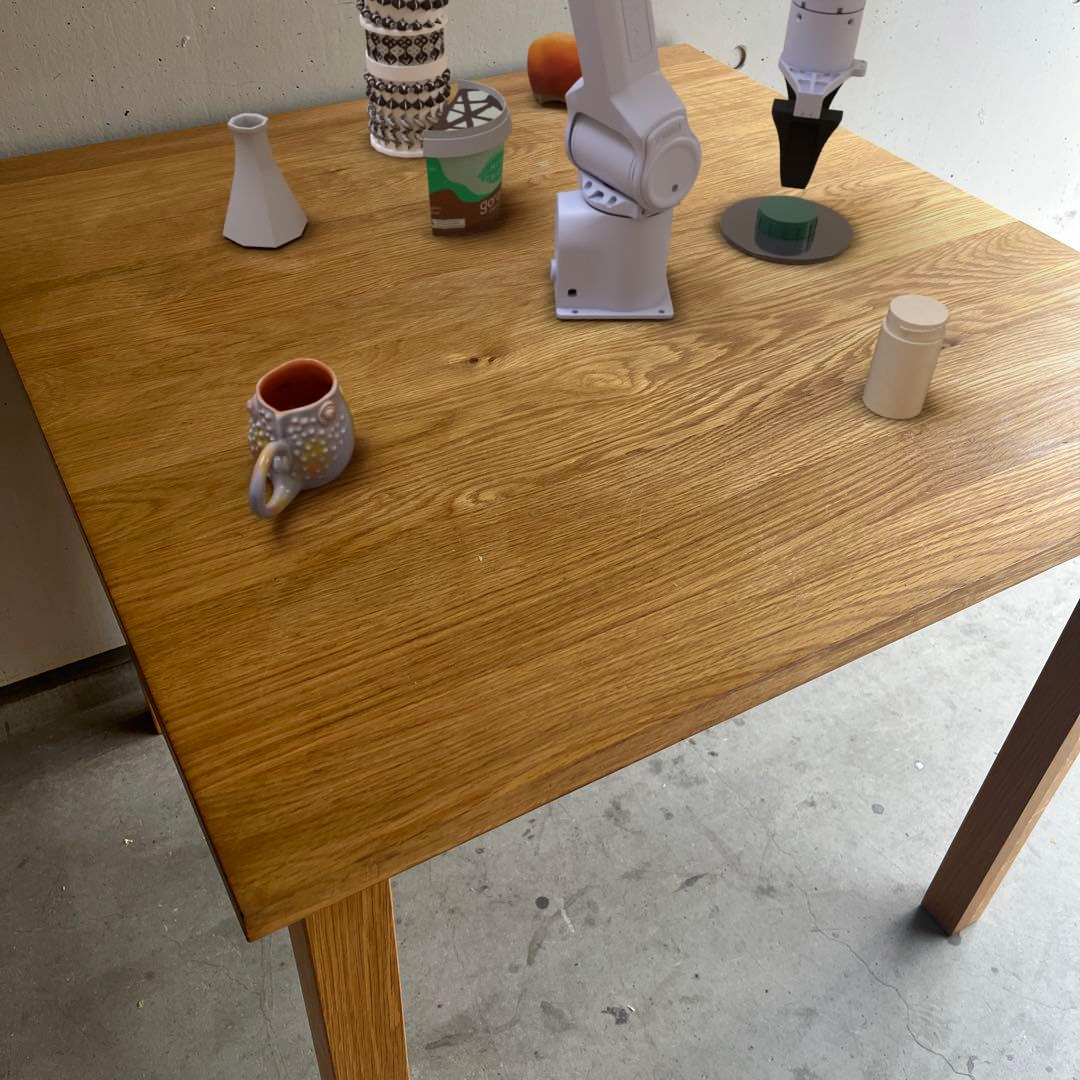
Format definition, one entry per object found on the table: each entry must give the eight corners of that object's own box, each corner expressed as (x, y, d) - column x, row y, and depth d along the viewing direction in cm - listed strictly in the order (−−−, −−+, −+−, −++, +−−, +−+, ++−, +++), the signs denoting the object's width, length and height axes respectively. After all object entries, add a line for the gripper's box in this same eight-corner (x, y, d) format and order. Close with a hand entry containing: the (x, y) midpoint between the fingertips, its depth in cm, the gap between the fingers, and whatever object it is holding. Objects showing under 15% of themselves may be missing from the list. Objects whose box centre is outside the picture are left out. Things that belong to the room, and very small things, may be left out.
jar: (883, 424, 80) (910, 331, 74) (850, 390, 83) (874, 298, 77) (934, 412, 81) (965, 320, 75) (900, 379, 84) (927, 288, 78)
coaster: (730, 264, 96) (730, 259, 96) (710, 200, 105) (711, 195, 104) (866, 264, 96) (867, 259, 96) (835, 200, 105) (836, 195, 105)
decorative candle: (428, 166, 109) (413, -122, 91) (349, 148, 111) (319, -136, 94) (472, 132, 115) (465, -145, 97) (395, 115, 117) (375, -157, 100)
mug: (280, 423, 79) (266, 345, 74) (372, 438, 78) (363, 359, 73) (206, 536, 70) (184, 454, 65) (307, 554, 69) (293, 473, 64)
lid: (819, 240, 98) (822, 223, 97) (760, 239, 98) (763, 222, 97) (809, 212, 102) (813, 196, 101) (753, 211, 102) (756, 194, 101)
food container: (495, 251, 97) (494, 140, 90) (428, 243, 98) (421, 132, 91) (524, 188, 106) (526, 83, 99) (462, 181, 106) (459, 76, 100)
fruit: (516, 102, 117) (524, 21, 115) (527, 115, 124) (534, 39, 123) (592, 109, 116) (601, 27, 114) (598, 121, 123) (606, 44, 122)
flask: (208, 240, 97) (185, 129, 90) (253, 205, 102) (235, 97, 95) (279, 257, 95) (261, 145, 89) (321, 220, 100) (308, 111, 93)
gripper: (876, 39, 81) (838, 210, 90) (882, -21, 91) (847, 138, 101) (780, 29, 82) (752, 199, 92) (796, -30, 92) (770, 129, 102)
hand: (797, 167), depth 96 cm, fingers open, 7 cm apart
